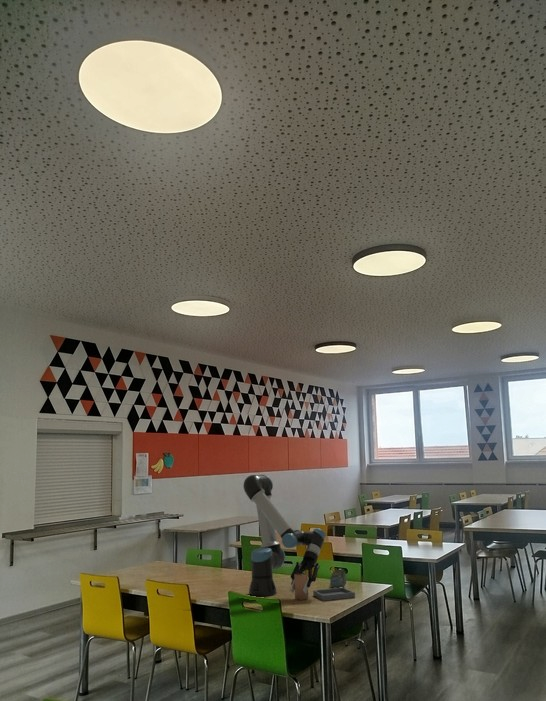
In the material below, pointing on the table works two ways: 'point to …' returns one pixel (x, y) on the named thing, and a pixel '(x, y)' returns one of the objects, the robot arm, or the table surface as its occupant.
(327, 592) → the grey square tray
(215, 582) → the table surface
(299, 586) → the terracotta cup
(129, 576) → the table surface
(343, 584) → the beverage carton
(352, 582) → the table surface
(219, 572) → the table surface
